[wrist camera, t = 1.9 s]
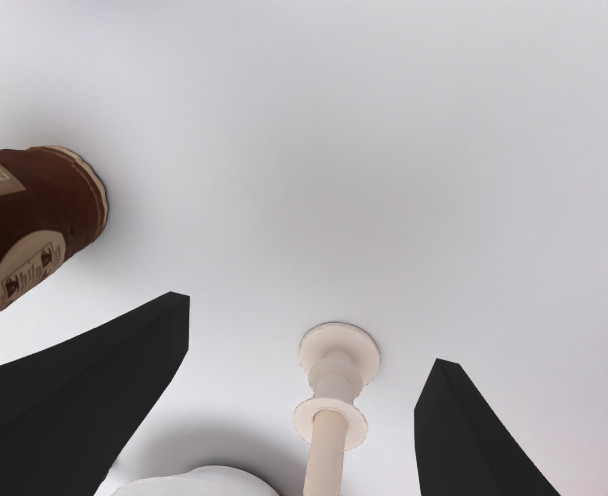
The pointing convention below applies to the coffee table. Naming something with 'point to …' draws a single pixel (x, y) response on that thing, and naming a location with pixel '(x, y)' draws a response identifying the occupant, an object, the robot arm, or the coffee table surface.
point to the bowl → (200, 484)
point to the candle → (333, 400)
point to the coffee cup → (44, 215)
